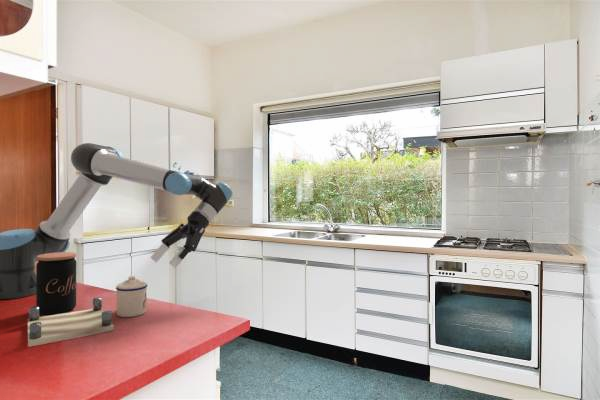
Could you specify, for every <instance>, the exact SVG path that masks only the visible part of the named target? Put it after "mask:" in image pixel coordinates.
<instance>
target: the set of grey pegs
mask: <svg viewBox="0 0 600 400" xmlns="http://www.w3.org/2000/svg"><path fill="white" fill-rule="evenodd" d="M92 306H93V307H92V309H93V311H99V310H102V308H103V297H100V296H98V297H94V298H92ZM39 317H40V314H39V306H36V305H35V306H29V308H28V319H29V321H36V320H39ZM111 322H112V311H111V310H104V312H102V326H109V325H111ZM38 338H41V322H35V323H31V324H30V329H29V339H31V340H33V339H38Z"/></svg>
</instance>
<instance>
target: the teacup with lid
mask: <svg viewBox="0 0 600 400" xmlns="http://www.w3.org/2000/svg"><path fill="white" fill-rule="evenodd" d="M115 287H116V288H115V289H116V315H117V316H118V317H121V318H132V317H134V318H135V317H138V316H141V315H144V314H145V313H147V295H148V294H147V288H148V283H147V282H146V281H143V280H140V279H137V278H136V276H135V275H129V276H128V279H126V280H124V281H123V282H121V283H118V284H117V285H116V286H115Z"/></svg>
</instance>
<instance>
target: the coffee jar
mask: <svg viewBox="0 0 600 400" xmlns="http://www.w3.org/2000/svg"><path fill="white" fill-rule="evenodd" d="M76 258H77V253H76V252H70V251H68V252H67V251H66V252H57V253H47V254H41V255H38V256H37V260H38V261H37V263H36V264H35V273H36V294H35V298H36V299H35V301H36V302H35V304H36V305H35V306H39V316H51V315H57V314H63V313H70V312H73V311H74V309H75V308H76V307H77V260H76Z"/></svg>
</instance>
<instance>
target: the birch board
mask: <svg viewBox="0 0 600 400" xmlns="http://www.w3.org/2000/svg"><path fill="white" fill-rule="evenodd" d="M104 311H105V310H104V308H103V307H102V310H99V311H93V308H90V309H85V310H78V311H70V312H68V313H63V314H57V315H51V316H45V315H43V316H39V320H36V321H29V318H27V348H30V347H34V346H41V345H45V344H51V343H57V342H61V341H67V340H72V339H76V338H81V337H82V338H83V337H87V336H93V335H97V334H99V335H100V334H103V333H108V332H109V333H110V332H113V331H114V330H115V329H114V328H115V327H114V324H113V322H112V321H111V325H109V326H102V312H104ZM35 322H41V338H38V339H33V340H31V339H29V329H30V324H31V323H35Z"/></svg>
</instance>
